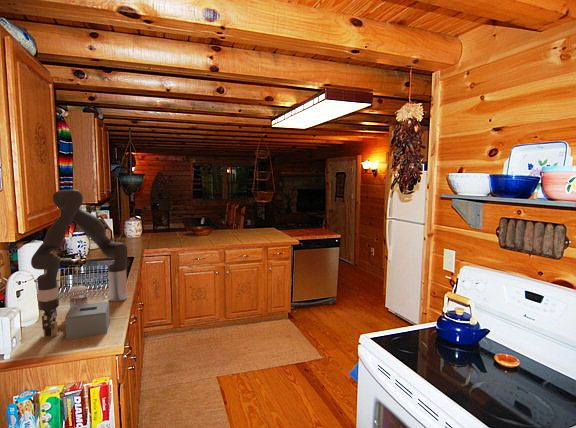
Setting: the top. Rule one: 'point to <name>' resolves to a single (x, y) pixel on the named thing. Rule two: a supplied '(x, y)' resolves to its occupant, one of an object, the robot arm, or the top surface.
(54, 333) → the wooden block
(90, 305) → the box
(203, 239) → the top surface
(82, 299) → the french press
